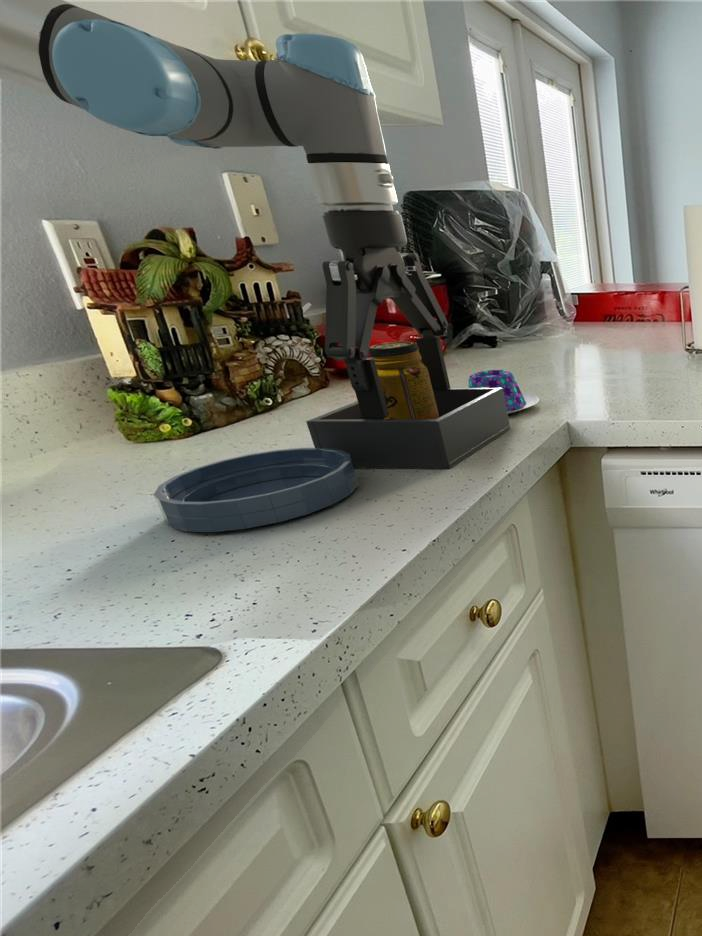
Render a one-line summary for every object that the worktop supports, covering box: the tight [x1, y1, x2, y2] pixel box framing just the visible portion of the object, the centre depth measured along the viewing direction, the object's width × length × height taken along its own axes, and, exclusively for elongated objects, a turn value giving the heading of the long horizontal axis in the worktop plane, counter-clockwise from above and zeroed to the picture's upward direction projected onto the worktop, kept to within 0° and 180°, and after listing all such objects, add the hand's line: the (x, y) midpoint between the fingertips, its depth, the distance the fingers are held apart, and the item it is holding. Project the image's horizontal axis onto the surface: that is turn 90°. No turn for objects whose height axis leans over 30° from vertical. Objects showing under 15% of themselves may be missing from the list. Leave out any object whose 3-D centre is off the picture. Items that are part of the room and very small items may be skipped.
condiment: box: [368, 341, 439, 419], centre depth 86 cm, size 7×8×12 cm
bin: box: [305, 387, 512, 470], centre depth 87 cm, size 16×16×6 cm
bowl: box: [153, 447, 359, 533], centre depth 72 cm, size 16×16×3 cm
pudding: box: [467, 369, 540, 415], centre depth 104 cm, size 12×12×5 cm
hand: (409, 402), depth 86 cm, fingers open, 13 cm apart
